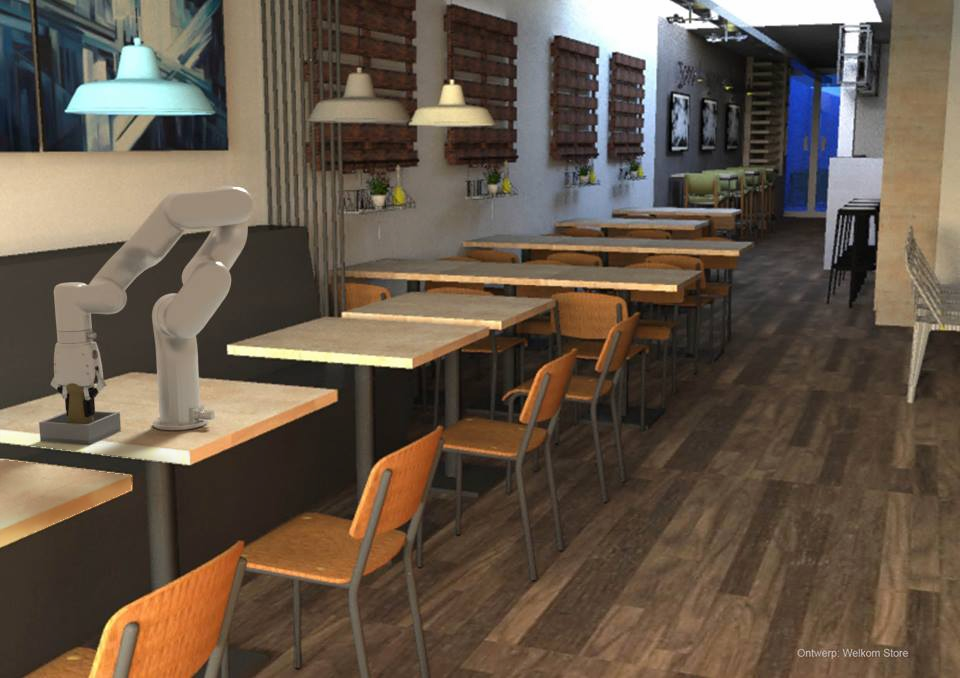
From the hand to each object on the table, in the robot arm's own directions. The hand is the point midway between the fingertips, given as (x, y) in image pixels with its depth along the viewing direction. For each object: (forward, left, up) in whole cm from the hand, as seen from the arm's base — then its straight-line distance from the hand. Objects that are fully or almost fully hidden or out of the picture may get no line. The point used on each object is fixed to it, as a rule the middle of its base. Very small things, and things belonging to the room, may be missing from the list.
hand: (80, 414), depth 249 cm
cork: (0, 0, -3) cm, 3 cm away
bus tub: (0, 0, -5) cm, 5 cm away
